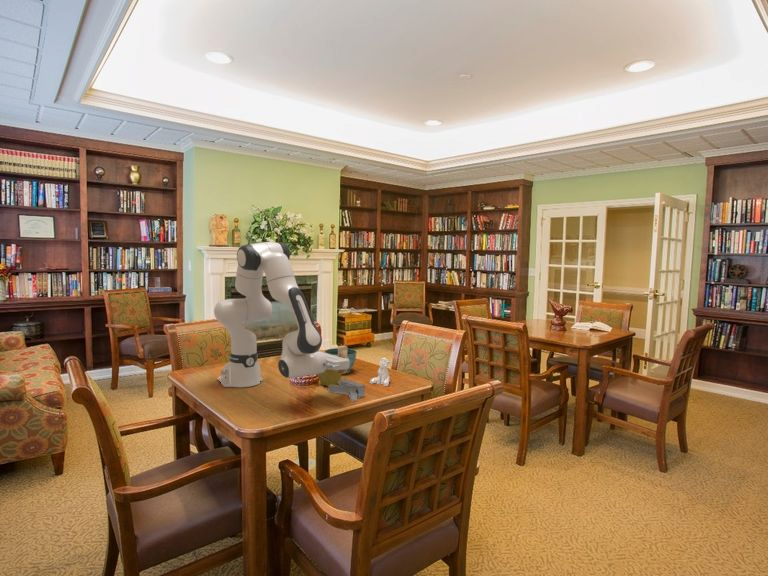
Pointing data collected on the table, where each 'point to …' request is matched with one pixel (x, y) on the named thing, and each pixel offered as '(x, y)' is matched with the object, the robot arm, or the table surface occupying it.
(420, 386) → the table surface
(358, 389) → the crossed grey wooden bars
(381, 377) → the sitting furry creature
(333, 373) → the flower pot
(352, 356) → the flower pot
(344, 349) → the dowel
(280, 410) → the table surface
